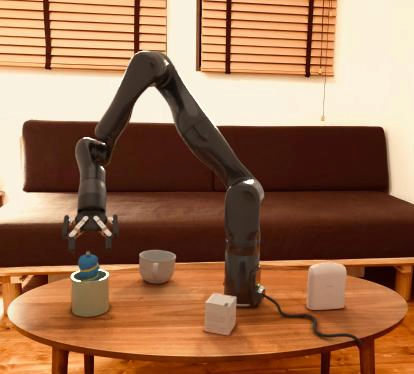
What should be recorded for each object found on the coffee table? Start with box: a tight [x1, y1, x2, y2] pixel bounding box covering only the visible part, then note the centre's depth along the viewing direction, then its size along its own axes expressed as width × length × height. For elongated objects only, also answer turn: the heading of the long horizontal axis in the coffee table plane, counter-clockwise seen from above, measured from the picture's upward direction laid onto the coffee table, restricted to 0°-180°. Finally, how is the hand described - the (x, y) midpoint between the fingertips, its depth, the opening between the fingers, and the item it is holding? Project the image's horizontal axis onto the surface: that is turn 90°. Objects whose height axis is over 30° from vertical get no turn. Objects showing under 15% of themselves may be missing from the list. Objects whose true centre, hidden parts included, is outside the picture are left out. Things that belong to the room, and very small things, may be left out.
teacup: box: [138, 249, 177, 284], centre depth 137 cm, size 14×11×8 cm
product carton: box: [203, 292, 237, 336], centre depth 110 cm, size 6×6×7 cm
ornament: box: [77, 251, 101, 281], centre depth 117 cm, size 5×5×15 cm
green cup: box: [70, 269, 110, 318], centre depth 118 cm, size 9×9×9 cm
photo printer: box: [306, 261, 347, 311], centre depth 123 cm, size 10×4×12 cm, turn 100°
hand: (90, 252), depth 118 cm, fingers open, 8 cm apart
